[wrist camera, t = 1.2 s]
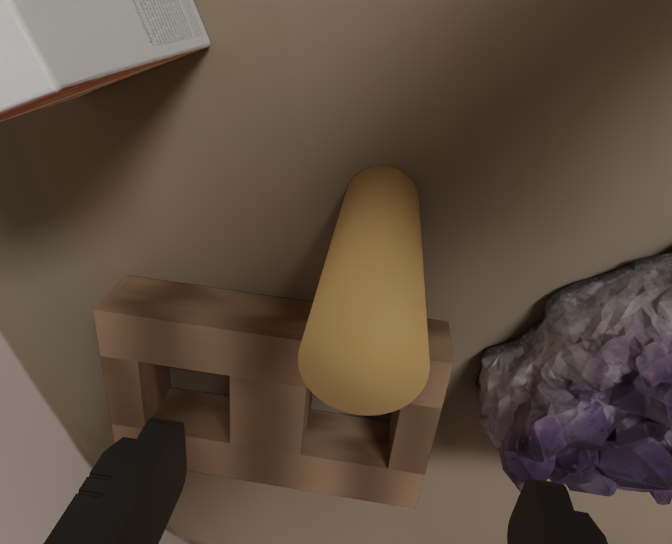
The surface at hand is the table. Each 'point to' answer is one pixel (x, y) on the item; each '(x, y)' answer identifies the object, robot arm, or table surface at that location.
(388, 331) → the peg
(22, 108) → the small box
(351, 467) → the hole block
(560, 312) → the geode
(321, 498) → the table surface
